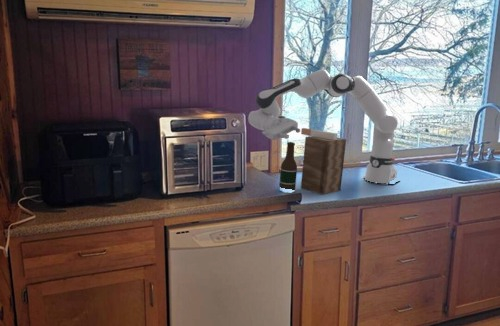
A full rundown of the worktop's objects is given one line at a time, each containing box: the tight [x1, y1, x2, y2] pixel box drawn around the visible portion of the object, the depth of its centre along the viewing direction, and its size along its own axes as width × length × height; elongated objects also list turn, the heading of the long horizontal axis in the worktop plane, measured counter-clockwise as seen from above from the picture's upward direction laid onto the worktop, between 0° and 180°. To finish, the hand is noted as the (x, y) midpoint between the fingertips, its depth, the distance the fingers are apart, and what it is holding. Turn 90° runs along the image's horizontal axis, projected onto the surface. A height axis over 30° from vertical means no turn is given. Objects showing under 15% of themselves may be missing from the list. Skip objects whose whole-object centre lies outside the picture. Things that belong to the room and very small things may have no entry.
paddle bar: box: [300, 127, 338, 140], centre depth 227 cm, size 2×20×3 cm, turn 46°
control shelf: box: [300, 136, 347, 195], centre depth 227 cm, size 16×13×26 cm
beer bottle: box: [278, 141, 298, 191], centre depth 218 cm, size 8×8×24 cm
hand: (293, 134), depth 233 cm, fingers open, 8 cm apart
